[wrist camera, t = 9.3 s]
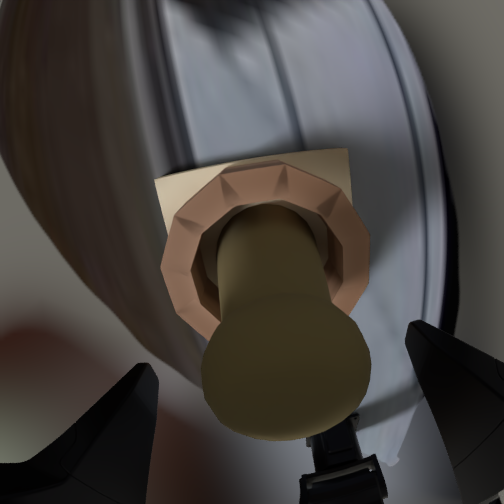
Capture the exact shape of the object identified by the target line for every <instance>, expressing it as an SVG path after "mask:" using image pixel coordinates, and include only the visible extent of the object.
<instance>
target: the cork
mask: <svg viewBox="0 0 504 504" xmlns="http://www.w3.org/2000/svg"><path fill="white" fill-rule="evenodd" d="M216 260H217V274H218V287H219V299H220V310H221V321H222V322H221V323H220V324H219V325H218V326H217V328H216V329H215V331H214V333H213V335H212V336H211V338H210V341H209V343H208V345H207V348H206V350H205V352H204V355H203V360H202V365H201V376H202V386H203V392H204V398H205V400H206V402H207V403H208V405H209V406H210V408H211V409H212V411H213V412H214V414H215V415H216V417H217V418H218V420H219V421H220V422H221V423H222V424H223V425H225V426H227V427H228V428H229V429H231V430H232V431H234V432H237V433H240V434H243V435H246V436H249V437H252V438H255V439H260V440H268V441H287V440H295V439H301V438H305V437H310V436H313V435H315V434H318V433H321V432H324V431H326V430H328V429H330V428H331V427H333V426H335V425H337V424H338V423H340V422H341V421H343V420H344V419H345V418H347V417H348V416H349V415H350V414H351V413H352V412H353V411H354V410H355V409H356V408H357V407H358V406H359V405H360V403H361V401H362V400H363V398H364V396H365V395H366V392H367V389H368V385H369V382H370V374H371V358H370V351H369V348H368V346H367V344H366V342H365V340H364V338H363V335H362V333H361V332H360V330H359V328H358V326H357V324H356V322H355V321H354V320H352V319H351V318H350V317H349V316H348V315H347V314H346V313H344V312H343V311H342V310H341V309H339V308H338V307H337V306H336V305H334V304H333V303H332V301H331V297H330V292H329V288H328V284H327V280H326V277H325V273H324V269H323V265H322V261H321V258H320V254H319V250H318V247H317V243H316V240H315V236H314V234H313V232H312V230H311V228H310V226H309V225H308V223H307V221H306V220H304V219H303V218H302V217H301V216H300V215H299V214H298V213H297V212H295V211H293V210H291V209H288V208H286V207H284V206H281V205H273V204H260V205H256V206H252V207H248V208H245V209H244V210H242V211H241V212H239V213H237V214H236V215H234V216H232V218H231V219H230V220H229V221H228V222H227V224H226V225H225V226H224V227H223V228H222V230H221V233H220V236H219V238H218V241H217V249H216Z"/></svg>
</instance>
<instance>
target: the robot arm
mask: <svg viewBox="0 0 504 504" xmlns="http://www.w3.org/2000/svg"><path fill="white" fill-rule="evenodd" d="M405 345H406V348H407V351H408V354H409V356H410V359H411V362H412V365H413V368H414V371H415V374H416V377H417V379H418V382H419V384H420V386H421V388H422V391H423V393H424V395H425V397H426V400H427V402H428V404H429V407H430V409H431V411H432V414H433V416H434V419H435V421H436V423H437V426H438V429H439V431H440V434H441V436H442V439H443V442H444V444H445V447H446V450H447V453H448V456H449V459H450V461H451V464H452V467H453V471H454V474H455V477H456V481H457V484H458V488H459V491H460V495H461V499H462V503H463V504H479V503H481V502H483V501H485V500H487V499H488V498H490V497H492V496H494V495H495V494H497V493H498V494H499V496H497V497H496V498H495V499H494V500H492V501H491V502H490V503H489V504H504V363H503V362H501V361H499V360H497V359H494V357H492V356H490V355H488V354H486V353H484V352H482V351H480V350H479V349H477V348H475V347H473V346H471V345H469V344H467V343H465V342H463V341H461V340H459V339H457V338H455V337H454V336H452V335H450V334H448V333H446V332H444V331H442V330H440V329H438V328H436V327H434V326H432V325H430V324H428V323H426V322H424V321H422V320H415V321H412V322H410V323H409V325H408V329H407V333H406V337H405ZM158 390H159V380H158V377H157V376H156V374H155V372H154V370H153V369H152V367H151V365H150V364H149V363H138V364H136V365H135V366H134V367H133V368H132V369H131V370H130V371H129V372H128V373H127V374H126V375H125V376H124V377H122V378H121V379H120V380H119V381H118V382H117V383H116V384H115V385H114V386H113V387H112V388H111V389H110V390H109V391H108V392H107V393H106V394H104V395H103V396H102V397H101V398H100V399H99V400H98V401H97V402H96V403H95V404H94V405H93V406H92V407H91V408H90V409H89V410H88V411H87V412H85V414H83V415H82V416H81V417H80V418H79V419H78V420H77V421H76V423H74V424H73V425H72V426H71V427H70V428H69V429H67V430H66V431H65V432H64V433H63V434H62V435H61V436H60V437H58V438H57V439H56V440H55V441H53V442H52V443H51V444H50V445H48V446H47V447H46V448H44V449H43V450H42V451H40V452H39V453H38V454H36V455H35V456H34V457H32V458H31V459H29V460H27V461H24V462H20V463H0V504H145V502H146V493H147V484H148V475H149V466H150V459H151V453H152V446H153V439H154V433H155V427H156V420H157V404H158ZM358 421H359V414H353V415H350V416H348V417H347V418H345V419H344V420H343V421H341V422H340V423H338V424H337V425H335V426H333V427H331V428H330V429H328V430H326V431H324V432H321V433H318V434H315V435H313V436H310V437H306V446H307V447H311V449H312V454H313V460H314V466H315V473H311V474H303V475H302V478H301V479H299V482H300V501H299V504H384V502H383V499H385V498H387V497H388V492H387V487H386V484H385V480H384V477H383V474H382V471H381V468H380V465H379V463H378V460H377V457H376V454H373V455H371V456H369V457H367V458H363V456H362V453H361V449H360V446H359V442H358V439H357V436H356V432H355V431H356V428H357V424H358ZM370 469H372V471H371V472H370V471H369V470H370Z"/></svg>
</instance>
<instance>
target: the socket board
mask: <svg viewBox="0 0 504 504" xmlns="http://www.w3.org/2000/svg"><path fill="white" fill-rule="evenodd" d="M155 184H156V189H157V193H158V197H159V201H160V205H161V209H162V213H163V217H164V221H165V224H166V228H167V232H168V239H167V243H166V247H165V251H164V255H163V259H162V263H161V267H160V268H161V271H162V274H163V277H164V280H165V282H166V285H167V288H168V291H169V294H170V297H171V300H172V302H173V305H174V308H175V310H176V313H177V314H178V315H179V316H180V317H181V318H183V319H184V320H185V321H186V322H187V323H188V324H189V325H191V326H192V327H193V328H194V329H195V330H196V331H198V332H199V333H200V334H201V335H202V336H204V337H205V338H206V339H207V340H208V341H210V338H211V336H212V335H213V333H214V331H215V329H216V328H217V326H218V325H219V324H220V323H221V322H222V321H221V310H220V299H219V287H218V274H217V260H216V249H217V241H218V238H219V236H220V233H221V230H222V228H223V227H224V226H225V225H226V224H227V222H228V221H229V220H230V219H231V218H232V216H234V215H236V214H237V213H239V212H241V211H242V210H244V209H245V208H248V207H252V206H256V205H260V204H273V205H281V206H284V207H286V208H288V209H291V210H293V211H295V212H297V213H298V214H299V215H300V216H301V217H302V218H303V219H304V220H306V221H307V223H308V225H309V226H310V228H311V230H312V232H313V234H314V236H315V240H316V243H317V247H318V250H319V254H320V258H321V261H322V265H323V269H324V273H325V277H326V280H327V284H328V288H329V292H330V297H331V301H332V303H333V304H334V305H336V306H337V307H338V308H339V309H341V310H342V311H343V312H344V313H346V314H347V315H348V316H349V314H350V313H351V311H352V310H353V308H354V306H355V305H356V303H357V302H358V300H359V298H360V297H361V295H362V293H363V292H364V290H365V288H366V287H367V285H368V284H369V262H370V234H369V232H368V230H367V229H366V227H365V225H364V224H363V222H362V220H361V219H360V217H359V216H358V214H357V212H356V211H355V209H354V208H353V206H352V193H351V179H350V167H349V157H348V149H347V148H330V149H319V150H309V151H300V152H292V153H284V154H276V155H269V156H262V157H256V158H249V159H243V160H237V161H232V162H226V163H221V164H216V165H211V166H206V167H201V168H196V169H191V170H187V171H182V172H178V173H174V174H169V175H165V176H161V177H159V178H157V179H155Z"/></svg>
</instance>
